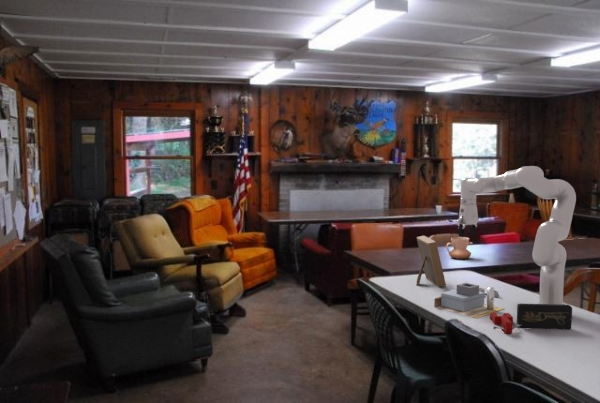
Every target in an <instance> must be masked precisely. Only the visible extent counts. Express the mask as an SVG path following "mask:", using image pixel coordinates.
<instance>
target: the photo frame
mask: <svg viewBox="0 0 600 403" xmlns="http://www.w3.org/2000/svg"><path fill="white" fill-rule="evenodd" d="M416 241H417V245H418V250H419V253H420V254H419V255H420V260H421V263H422V264H421V267H420V270H419V272H418V275H417V278H416V279H417V280H416V286H418V285H419V284H420V283H421V279H422V275H423V272H424V276H425V279H427V280H428V281H429V282H431V283H432V284H433V285H434V286H436V287H437V288H440V287H441V288H442V287H445V286H447V284H446V283H447V282H446V280H445V274H444V270H443V267H442V266H443V265H442V262H441V258H440V257H441V256H440V253H439V249H438V244H437V241H436V240H434V239H432V238H430V237H428V236H426V235H421V236H416Z"/></svg>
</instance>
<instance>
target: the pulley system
mask: <svg viewBox="0 0 600 403" xmlns="http://www.w3.org/2000/svg"><path fill="white" fill-rule="evenodd" d="M485 290H486V289H485V288H483V287H479V291H480V292H484V295H485V296H487V292H486V293H485ZM499 297H500V294H499V291H497V290H495V289H494V299H498V298H499ZM499 299H500V298H499Z"/></svg>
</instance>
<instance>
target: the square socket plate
mask: <svg viewBox="0 0 600 403" xmlns="http://www.w3.org/2000/svg"><path fill="white" fill-rule="evenodd" d="M479 288H480V285H478V284H474V283H468V282H464V283H459V284H456V288H455V289H451V290H447V291H445V292H441V295H440V297H441V306H444V307H448V308H451V309H455V310H459V311H463V312H464V311H468V310H471V309H474V308H477V307H481V306H484V304H485V298H486V295H484V292H480V291H479Z"/></svg>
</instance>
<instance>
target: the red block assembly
mask: <svg viewBox="0 0 600 403" xmlns="http://www.w3.org/2000/svg"><path fill="white" fill-rule="evenodd" d="M489 320H490V321H491V322H492V323H493V325H495V326H492V328H493V329H498V327H497V326H500V327H502V328H500V330H501V331H502V332H503V333H504V334H506V335H512V334H513V330H514V329H513V325H514V316H512V315H511V314H510V312H503V315H498V314H497V312H495V313H490V314H489ZM496 325H497V326H496Z"/></svg>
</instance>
